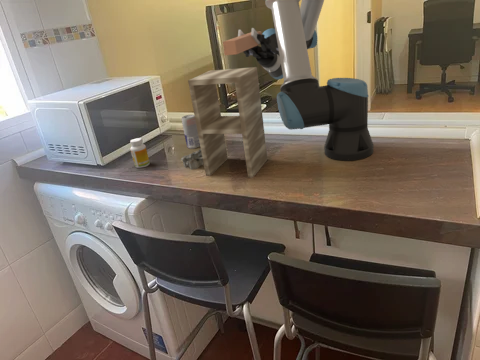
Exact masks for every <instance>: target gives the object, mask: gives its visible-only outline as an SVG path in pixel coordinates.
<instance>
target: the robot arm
mask: <svg viewBox="0 0 480 360" xmlns="http://www.w3.org/2000/svg"><path fill="white" fill-rule="evenodd" d="M300 1H301V2H300ZM264 2H265V7H267V8H268V9H270V10H271V13H272V14H271V15H272V20H273V25H274V28H272V27H271V28H268V29H265V30H264V31H263V32H261V33H262V35H261V34H258V33H257V32H258V30H256V29H255V28H254V27H251V31H250V32H251V37H252V38H253V39H254V40H255V41H256V42H257V44H259V45H257V46H255V47H253V48H250V49H248V50H246V51H243V52H242V53H243V54H244V55H245V57H246V58H249V57H250V56H252V57H253V58H256V61H257V63H258V64H259V65H260V66H261V67H262V68H263V69H264V70H265V71H266V72H267V73H268V74H269V76H270V77H272V78H273V79H275V80H283V82H282V84H281V85H280V92H278V93H277V94H276V103H277V108H278V112H279V116H280V119H281V121H282V123H283V125H284V127H285V128H287V129H288V130H298V129H299V130H304V129H306V128H307V129H308V128H311V127H319V126H326V125H328V133H327V137H326V140H325V143H324V149H323V150H324V152H323V153H324V155H325V156H326V157H328V158H330V159H332V160H336V161H345V162H346V161H357V160H362V159H365V158H368V157H369V156H371V155H372V154H374V142H373V139H372V136H371V134H370V131H369V125H368V121H369V119H368V114H369V110H368V109H369V100H368V99H369V91H368V84H367V82H366V81H364V80H363V79H359V78H353V77H333V78H328V80H327V82H326V85H321V86H320V84H319V79H318V78H317V77H315V76H314V75H312V69H311V63H310V57H309V56H310V55H309V52H308V50H311V49H314V48H315V47H317V44H318V33H317V30H316V28H317V27H316V26H317V23H318V20H319V17H320V15H321V11H322V9H323V6H324V2H325V0H264ZM237 31H238V33H237V37H238V36H241V35H244V34H245V33H244V31H242V29H238V30H237ZM260 43H261V44H260Z"/></svg>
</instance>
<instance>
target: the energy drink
mask: <svg viewBox="0 0 480 360" xmlns="http://www.w3.org/2000/svg"><path fill="white" fill-rule="evenodd" d="M181 123H182V129H183V133H184V138H185V143H186V147H187V148H188V149H190V150H191V149H193V150H194V149H197V148H200V142H199V137H198V131H197V126H196V121H195V115H194V114H186V115H183V116H181Z"/></svg>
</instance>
